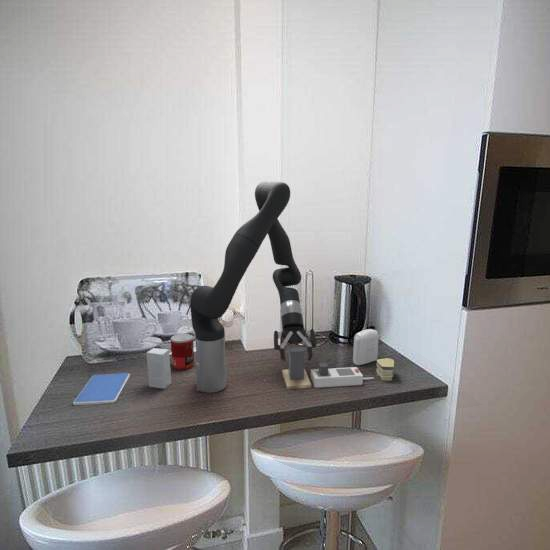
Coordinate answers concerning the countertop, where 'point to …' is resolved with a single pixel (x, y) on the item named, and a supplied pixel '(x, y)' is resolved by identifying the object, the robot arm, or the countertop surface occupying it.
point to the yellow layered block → (385, 369)
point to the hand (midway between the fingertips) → (297, 360)
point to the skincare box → (159, 368)
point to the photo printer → (365, 347)
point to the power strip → (336, 376)
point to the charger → (296, 363)
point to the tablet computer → (102, 389)
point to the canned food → (182, 351)
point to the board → (296, 381)
